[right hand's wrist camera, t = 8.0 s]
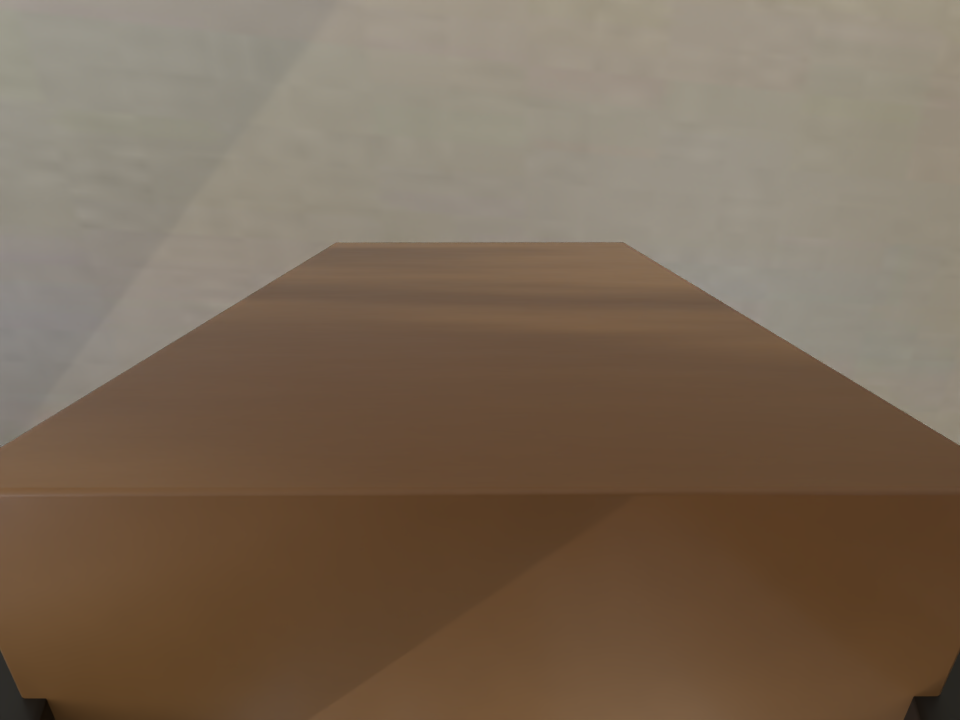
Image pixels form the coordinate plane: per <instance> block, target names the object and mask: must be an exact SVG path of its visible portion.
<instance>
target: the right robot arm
mask: <svg viewBox="0 0 960 720" xmlns="http://www.w3.org/2000/svg"><path fill="white" fill-rule="evenodd" d="M0 720H55V718H54V715H53V713H52V711H51V708H50V706H49V704H48V701H47V699H46V698H23V697H22V696H21V694H20V692H19V690H18V688H17V686H16V683H15V681H14V679H13V677H12V675H11V672H10V670H9V668H8V666H7V664H6V661H5V659H4V657H3V655H2V653H1V651H0ZM904 720H960V652H959V654H958V656H957V659H956V661H955V663H954V665H953V667H952V670H951V672H950V674H949V676H948V678H947V681H946V683H945V685H944V687H943V689H942V692H941V694H940V695H939V696H914V697H913V699H912V701H911V704H910V706H909V708H908V711H907V713H906V715H905V718H904Z"/></svg>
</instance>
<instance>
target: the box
mask: <svg viewBox="0 0 960 720" xmlns="http://www.w3.org/2000/svg"><path fill="white" fill-rule="evenodd" d="M0 651H1V653H2V655H3V657H4V659H5V661H6V664H7V666H8V668H9V670H10V672H11V675H12V677H13V679H14V681H15V683H16V686H17V688H18V690H19V692H20V694H21V696H22V697H23V698H46V699H47V701H48V704H49V706H50V708H51V711H52V713H53V715H54V718H55V720H904V718H905V715H906V713H907V711H908V708H909V706H910V704H911V701H912V699H913V697H914V696H939V695H940V694H941V692H942V689H943V687H944V685H945V683H946V681H947V678H948V676H949V674H950V672H951V670H952V667H953V665H954V663H955V661H956V659H957V656H958V654H959V652H960V446H959V445H958V444H956V443H954V442H953V441H951V440H949V439H948V438H946V437H944V436H943V435H941V434H939V433H938V432H936V431H935V430H933V429H931V428H930V427H928V426H926V425H925V424H923V423H921V422H920V421H918V420H916V419H915V418H913V417H911V416H910V415H908V414H906V413H905V412H903V411H901V410H900V409H898V408H896V407H895V406H893V405H891V404H890V403H888V402H887V401H885V400H883V399H882V398H880V397H878V396H877V395H875V394H873V393H872V392H870V391H868V390H867V389H865V388H863V387H862V386H860V385H858V384H857V383H855V382H853V381H852V380H850V379H848V378H847V377H845V376H843V375H842V374H840V373H839V372H837V371H835V370H834V369H832V368H830V367H829V366H827V365H825V364H824V363H822V362H820V361H819V360H817V359H815V358H814V357H812V356H810V355H809V354H807V353H805V352H804V351H802V350H800V349H799V348H797V347H795V346H794V345H792V344H791V343H789V342H787V341H786V340H784V339H782V338H781V337H779V336H777V335H776V334H774V333H772V332H771V331H769V330H767V329H766V328H764V327H762V326H761V325H759V324H757V323H756V322H754V321H752V320H751V319H749V318H747V317H746V316H744V315H743V314H741V313H739V312H738V311H736V310H734V309H733V308H731V307H729V306H728V305H726V304H724V303H723V302H721V301H719V300H718V299H716V298H714V297H713V296H711V295H709V294H708V293H706V292H704V291H703V290H701V289H699V288H698V287H696V286H695V285H693V284H691V283H690V282H688V281H686V280H685V279H683V278H681V277H680V276H678V275H676V274H675V273H673V272H671V271H670V270H668V269H666V268H665V267H663V266H661V265H660V264H658V263H656V262H655V261H653V260H651V259H650V258H648V257H647V256H645V255H643V254H642V253H640V252H638V251H637V250H635V249H633V248H632V247H630V246H628V245H627V244H625V243H623V242H549V243H335V244H333V245H331V246H330V247H328V248H327V249H325V250H323V251H322V252H320V253H318V254H317V255H315V256H313V257H312V258H310V259H308V260H307V261H305V262H304V263H302V264H300V265H299V266H297V267H295V268H294V269H292V270H290V271H289V272H287V273H286V274H284V275H282V276H281V277H279V278H277V279H276V280H274V281H272V282H271V283H269V284H268V285H266V286H264V287H263V288H261V289H259V290H258V291H256V292H254V293H253V294H251V295H250V296H248V297H246V298H245V299H243V300H241V301H240V302H238V303H236V304H235V305H233V306H232V307H230V308H228V309H227V310H225V311H223V312H222V313H220V314H218V315H217V316H215V317H214V318H212V319H210V320H209V321H207V322H205V323H204V324H202V325H200V326H199V327H197V328H196V329H194V330H192V331H191V332H189V333H187V334H186V335H184V336H182V337H181V338H179V339H178V340H176V341H174V342H173V343H171V344H169V345H168V346H166V347H164V348H163V349H161V350H159V351H158V352H156V353H155V354H153V355H151V356H150V357H148V358H146V359H145V360H143V361H141V362H140V363H138V364H137V365H135V366H133V367H132V368H130V369H128V370H127V371H125V372H123V373H122V374H120V375H119V376H117V377H115V378H114V379H112V380H110V381H109V382H107V383H105V384H104V385H102V386H101V387H99V388H97V389H96V390H94V391H92V392H91V393H89V394H87V395H86V396H84V397H83V398H81V399H79V400H78V401H76V402H74V403H73V404H71V405H69V406H68V407H66V408H65V409H63V410H61V411H60V412H58V413H56V414H55V415H53V416H51V417H50V418H48V419H47V420H45V421H43V422H42V423H40V424H38V425H37V426H35V427H33V428H32V429H30V430H28V431H27V432H25V433H24V434H22V435H20V436H19V437H17V438H15V439H14V440H12V441H10V442H9V443H7V444H6V445H4V446H2V447H1V448H0Z"/></svg>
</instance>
